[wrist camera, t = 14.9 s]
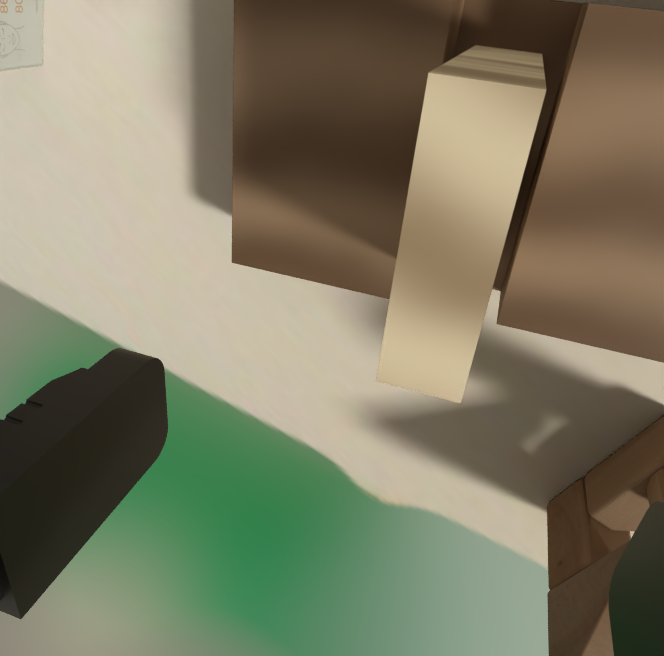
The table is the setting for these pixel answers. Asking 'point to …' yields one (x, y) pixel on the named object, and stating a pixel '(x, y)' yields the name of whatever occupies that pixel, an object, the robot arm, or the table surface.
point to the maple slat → (458, 214)
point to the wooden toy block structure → (597, 541)
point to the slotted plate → (401, 137)
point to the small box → (21, 34)
